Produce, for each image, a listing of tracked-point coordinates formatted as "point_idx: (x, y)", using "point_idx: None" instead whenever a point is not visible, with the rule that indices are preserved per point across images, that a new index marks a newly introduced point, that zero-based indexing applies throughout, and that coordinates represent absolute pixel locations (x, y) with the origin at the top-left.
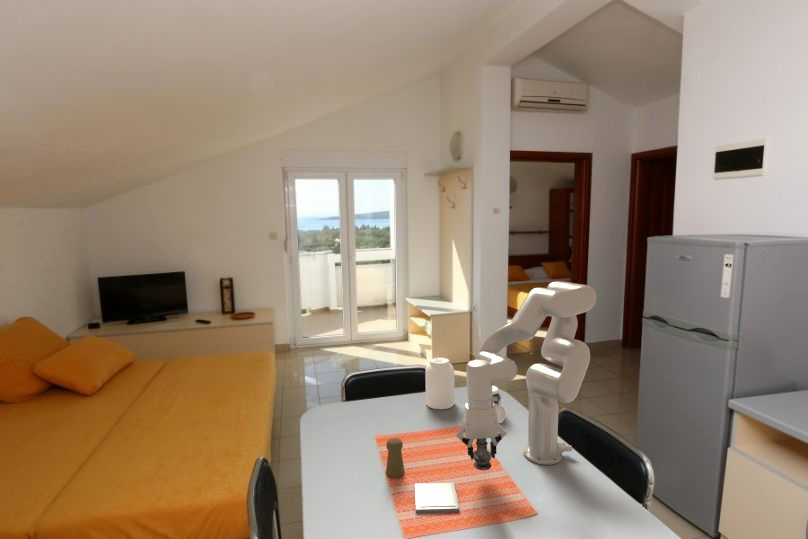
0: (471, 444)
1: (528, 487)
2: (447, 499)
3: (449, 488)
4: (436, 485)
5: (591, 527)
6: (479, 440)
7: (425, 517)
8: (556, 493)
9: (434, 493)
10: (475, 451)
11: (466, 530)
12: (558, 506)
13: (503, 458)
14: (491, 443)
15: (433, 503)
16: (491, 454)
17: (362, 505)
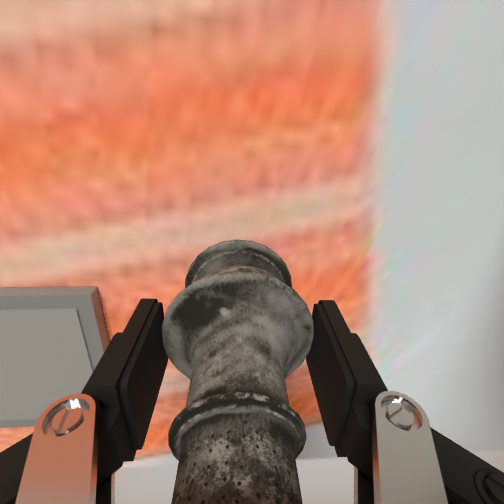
0: (109, 497)
1: (407, 301)
2: (70, 391)
3: (71, 335)
4: (3, 316)
5: (466, 441)
6: None
7: (9, 430)
8: (481, 332)
9: (7, 362)
10: (189, 303)
11: (145, 462)
12: (442, 384)
13: (419, 36)
14: (348, 410)
15: (17, 408)
16: (310, 345)
17: None
